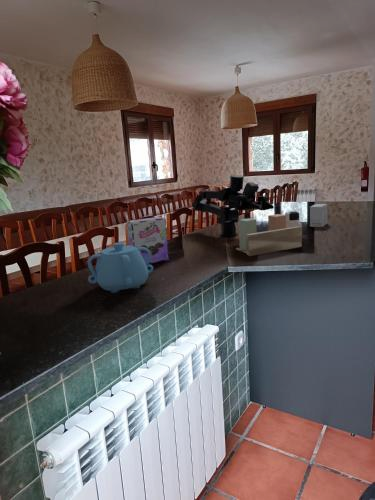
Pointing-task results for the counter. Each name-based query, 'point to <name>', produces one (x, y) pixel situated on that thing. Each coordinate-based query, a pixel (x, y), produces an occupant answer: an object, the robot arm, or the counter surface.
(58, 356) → the counter surface
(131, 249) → the decorative pot
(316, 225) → the skincare box
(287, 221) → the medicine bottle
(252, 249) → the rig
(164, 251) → the candy box
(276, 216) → the terracotta block
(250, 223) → the sage block
